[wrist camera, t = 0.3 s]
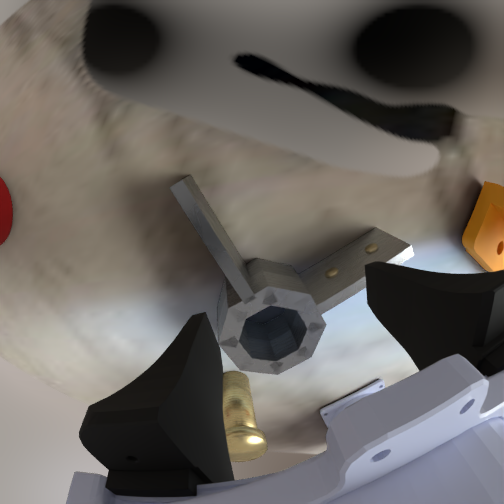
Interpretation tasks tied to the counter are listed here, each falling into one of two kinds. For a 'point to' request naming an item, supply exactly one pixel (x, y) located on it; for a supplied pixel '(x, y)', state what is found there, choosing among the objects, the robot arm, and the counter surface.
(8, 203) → the beverage can
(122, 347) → the counter surface
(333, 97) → the counter surface
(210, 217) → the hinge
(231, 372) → the hinge pin
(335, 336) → the counter surface
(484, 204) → the bracket
